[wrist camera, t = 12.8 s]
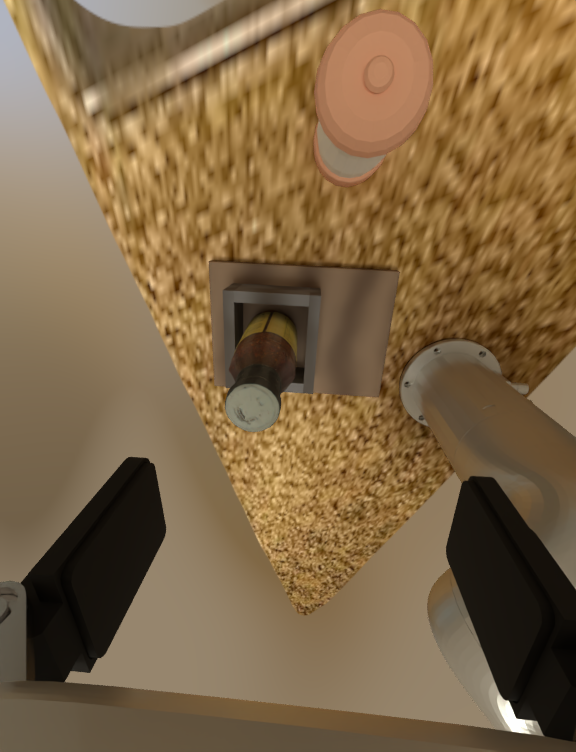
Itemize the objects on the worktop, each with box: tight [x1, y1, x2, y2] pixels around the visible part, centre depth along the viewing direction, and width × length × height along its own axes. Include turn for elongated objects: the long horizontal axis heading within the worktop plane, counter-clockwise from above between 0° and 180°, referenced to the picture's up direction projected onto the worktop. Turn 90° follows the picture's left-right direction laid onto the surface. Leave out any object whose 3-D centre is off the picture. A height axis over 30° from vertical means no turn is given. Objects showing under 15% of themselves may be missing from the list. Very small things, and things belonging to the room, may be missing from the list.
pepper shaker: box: [314, 9, 433, 187], centre depth 27 cm, size 7×7×19 cm
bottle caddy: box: [209, 261, 400, 397], centre depth 41 cm, size 22×16×6 cm
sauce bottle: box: [225, 310, 297, 432], centre depth 34 cm, size 6×6×20 cm
